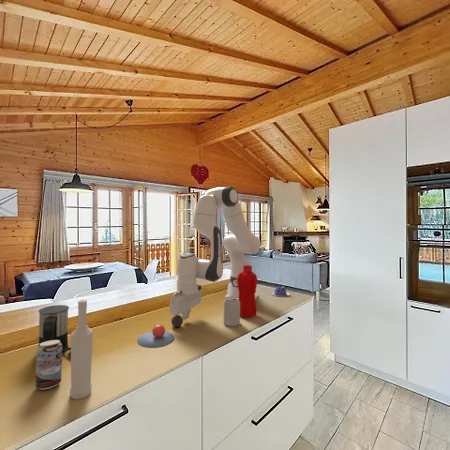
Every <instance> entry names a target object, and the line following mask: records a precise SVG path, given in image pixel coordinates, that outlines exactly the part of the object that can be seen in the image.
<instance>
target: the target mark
mask: <svg viewBox="0 0 450 450" xmlns="http://www.w3.org/2000/svg"><path fill="white" fill-rule="evenodd" d="M174 340H175V336H174V334H173V333H171V332H169V331H165V334H164V335H163V336H162V337H161V338H156V337H154V336H153V334H152V331H148V332H145V333H143V334H141V335H139V336H138V337H137V340H136V342H137V344H138V345H140V346H141V347H145V348H160V347H161V348H162V347H164V346H167V345H170V344H171V343H172V342H173V341H174Z"/></svg>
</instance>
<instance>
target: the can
mask: <svg viewBox="0 0 450 450" xmlns="http://www.w3.org/2000/svg"><path fill="white" fill-rule="evenodd" d="M240 319H241V316H240V301H239V298H238V297H232V296H231V297H225V299H224V301H223V323H224V325H225V326H227V327H232V328H233V327H238V325H240V323H241V321H240Z"/></svg>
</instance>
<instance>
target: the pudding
mask: <svg viewBox="0 0 450 450" xmlns="http://www.w3.org/2000/svg"><path fill="white" fill-rule="evenodd" d="M270 294H271V295H273V296H274V297H275V296H276V297H277V296H278V297H284V298H285V297H289V296H291V294H290V293H289V292H287V289H286V287H285V286H283V285H282V286H281V285H277V286H275V289H274V291H272V292H270Z"/></svg>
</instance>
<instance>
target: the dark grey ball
mask: <svg viewBox="0 0 450 450" xmlns="http://www.w3.org/2000/svg"><path fill="white" fill-rule="evenodd" d="M170 323H171V325H172V327H174V328H179V327H181V326H182V325H183V323H184V320H183V319H182V316H181V315H180V314H178V315H174V316H173V317H172V318H171V322H170Z"/></svg>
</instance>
